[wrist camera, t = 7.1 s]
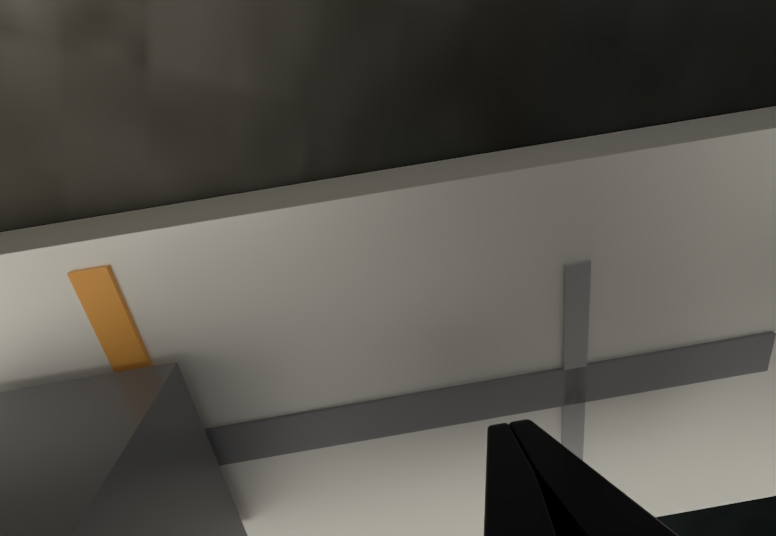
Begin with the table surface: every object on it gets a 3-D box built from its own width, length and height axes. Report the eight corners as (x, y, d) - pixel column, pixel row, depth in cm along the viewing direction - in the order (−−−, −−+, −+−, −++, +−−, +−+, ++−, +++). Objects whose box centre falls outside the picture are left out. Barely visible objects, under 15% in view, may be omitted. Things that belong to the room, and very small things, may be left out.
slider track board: (799, 102, 10) (909, 107, 8) (727, 439, 14) (789, 497, 12) (-101, 248, 10) (-217, 291, 8) (89, 551, 13) (46, 630, 12)
